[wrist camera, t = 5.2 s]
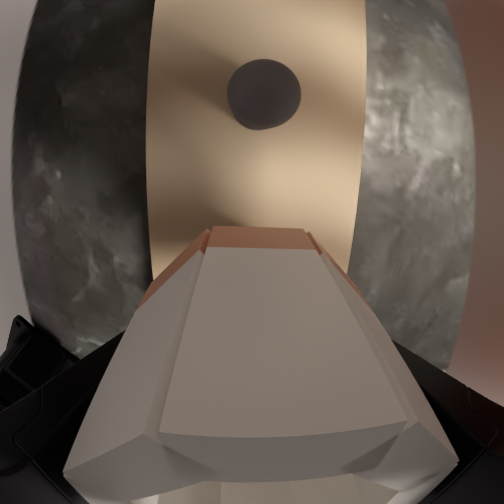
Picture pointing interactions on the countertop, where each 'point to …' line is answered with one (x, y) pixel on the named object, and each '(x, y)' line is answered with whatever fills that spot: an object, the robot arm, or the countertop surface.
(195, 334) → the sleeve
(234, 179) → the pin board
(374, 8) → the countertop surface
